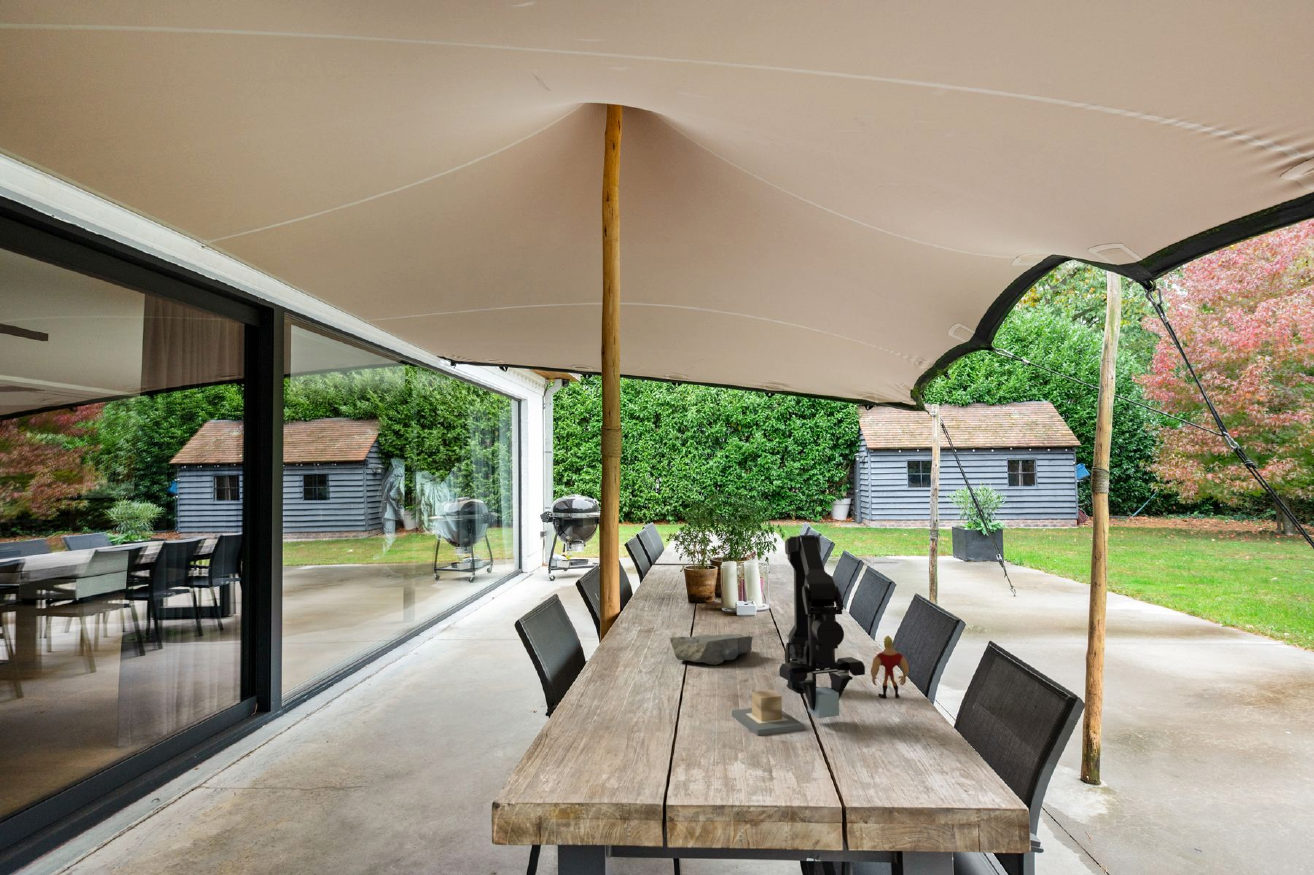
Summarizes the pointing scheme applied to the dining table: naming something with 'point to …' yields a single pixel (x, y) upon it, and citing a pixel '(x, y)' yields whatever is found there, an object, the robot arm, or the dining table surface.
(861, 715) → the dining table surface
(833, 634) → the robot arm
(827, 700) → the blue block
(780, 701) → the oak block
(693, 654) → the stone
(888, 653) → the action figure
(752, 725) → the board
